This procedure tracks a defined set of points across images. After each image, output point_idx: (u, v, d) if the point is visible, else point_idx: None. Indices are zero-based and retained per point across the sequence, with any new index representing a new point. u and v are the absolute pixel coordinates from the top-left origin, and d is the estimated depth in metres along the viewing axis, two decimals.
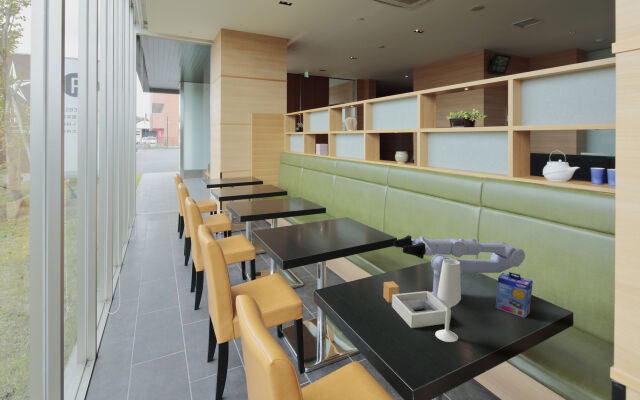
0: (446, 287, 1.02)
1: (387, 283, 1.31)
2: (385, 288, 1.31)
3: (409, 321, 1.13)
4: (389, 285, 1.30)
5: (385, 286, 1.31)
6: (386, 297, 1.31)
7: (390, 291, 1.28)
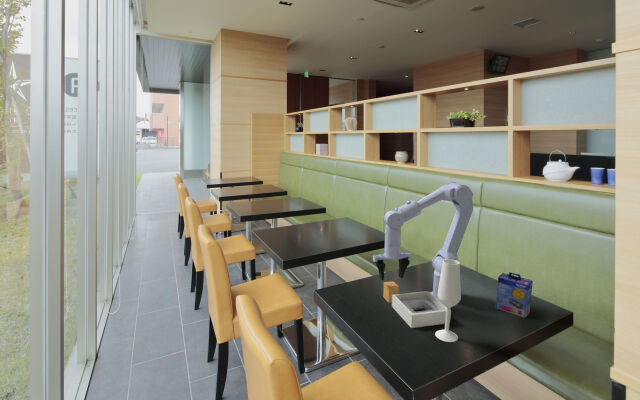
0: (446, 287, 1.02)
1: (387, 283, 1.31)
2: (385, 288, 1.31)
3: (409, 321, 1.13)
4: (389, 285, 1.30)
5: (385, 286, 1.31)
6: (386, 297, 1.31)
7: (390, 291, 1.28)
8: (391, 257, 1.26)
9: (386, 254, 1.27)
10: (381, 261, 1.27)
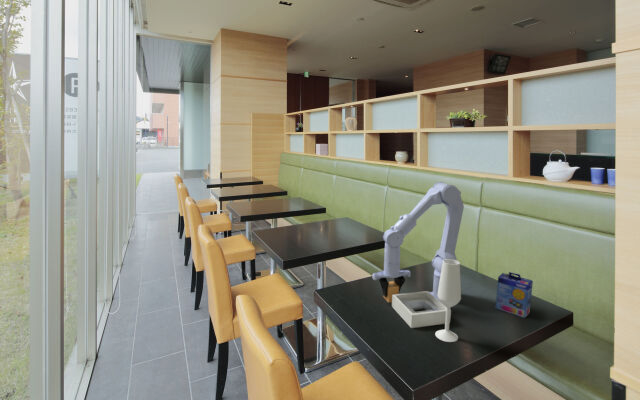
0: (446, 287, 1.02)
1: None
2: None
3: (409, 321, 1.13)
4: (389, 285, 1.30)
5: None
6: (386, 297, 1.30)
7: (390, 291, 1.28)
8: (390, 275, 1.27)
9: (385, 272, 1.28)
10: (380, 279, 1.28)
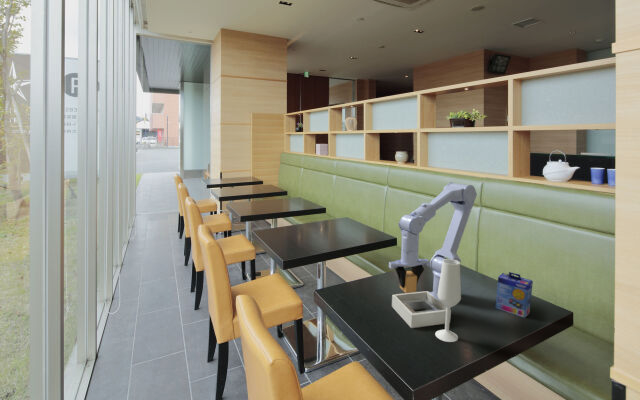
0: (446, 287, 1.02)
1: None
2: None
3: (409, 321, 1.13)
4: (406, 274, 1.22)
5: None
6: None
7: (407, 281, 1.20)
8: (408, 264, 1.19)
9: (403, 261, 1.20)
10: (398, 268, 1.20)
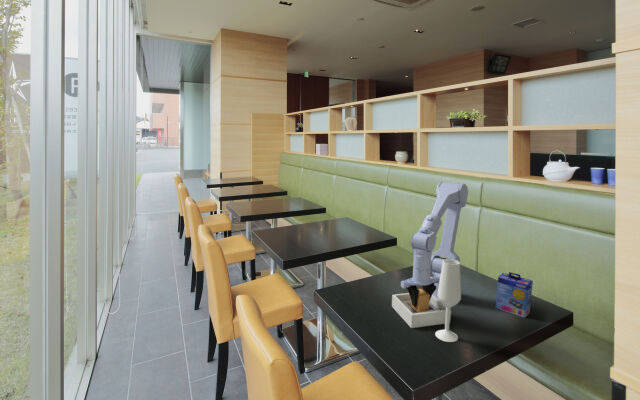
0: (446, 287, 1.02)
1: None
2: None
3: (409, 321, 1.13)
4: None
5: None
6: None
7: (420, 300, 1.17)
8: (421, 283, 1.15)
9: (415, 279, 1.16)
10: (410, 287, 1.16)
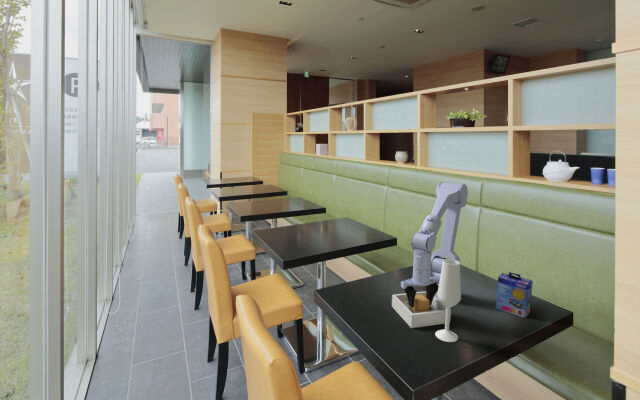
0: (446, 287, 1.02)
1: (415, 297, 1.20)
2: None
3: (409, 321, 1.13)
4: (418, 299, 1.18)
5: None
6: None
7: (420, 306, 1.17)
8: (421, 283, 1.15)
9: (415, 280, 1.16)
10: (410, 287, 1.16)
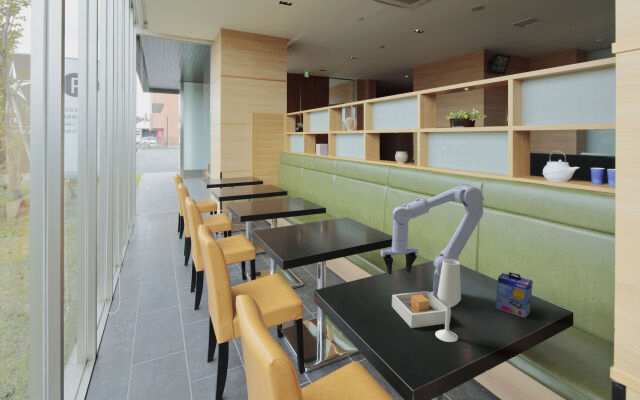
0: (446, 287, 1.02)
1: (415, 297, 1.20)
2: (413, 303, 1.20)
3: (409, 321, 1.13)
4: (418, 299, 1.18)
5: (413, 300, 1.20)
6: None
7: (420, 306, 1.17)
8: (399, 252, 1.29)
9: (394, 249, 1.30)
10: (389, 256, 1.30)
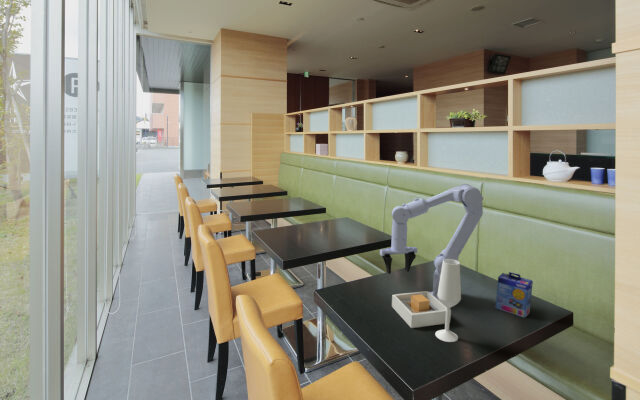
0: (446, 287, 1.02)
1: (415, 297, 1.20)
2: (413, 303, 1.20)
3: (409, 321, 1.13)
4: (418, 299, 1.18)
5: (413, 300, 1.20)
6: None
7: (420, 306, 1.17)
8: (398, 251, 1.29)
9: (393, 248, 1.31)
10: (388, 255, 1.31)
